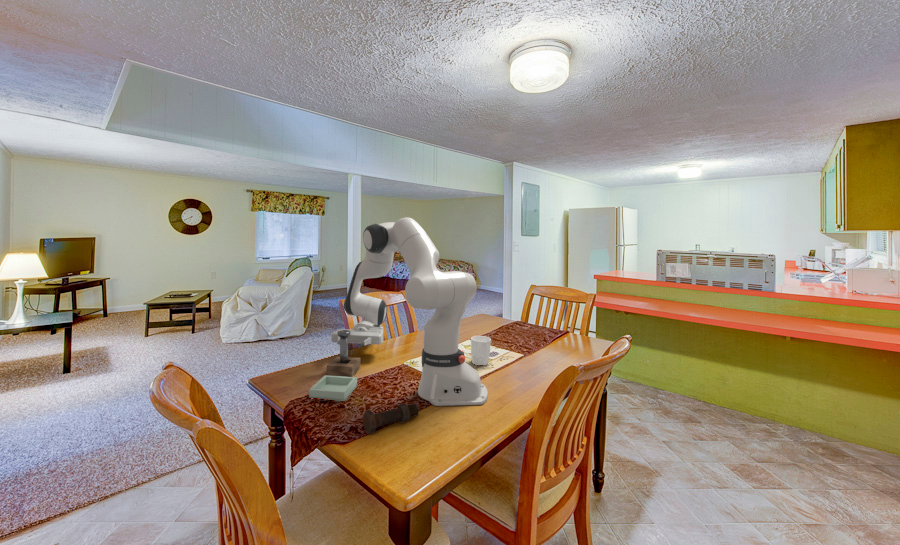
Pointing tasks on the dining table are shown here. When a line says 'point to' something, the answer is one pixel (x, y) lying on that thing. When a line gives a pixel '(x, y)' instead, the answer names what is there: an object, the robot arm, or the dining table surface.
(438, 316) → the robot arm
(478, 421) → the dining table surface
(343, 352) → the pin
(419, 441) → the dining table surface
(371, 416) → the bolt
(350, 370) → the socket block
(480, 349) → the white cup
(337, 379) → the tray
